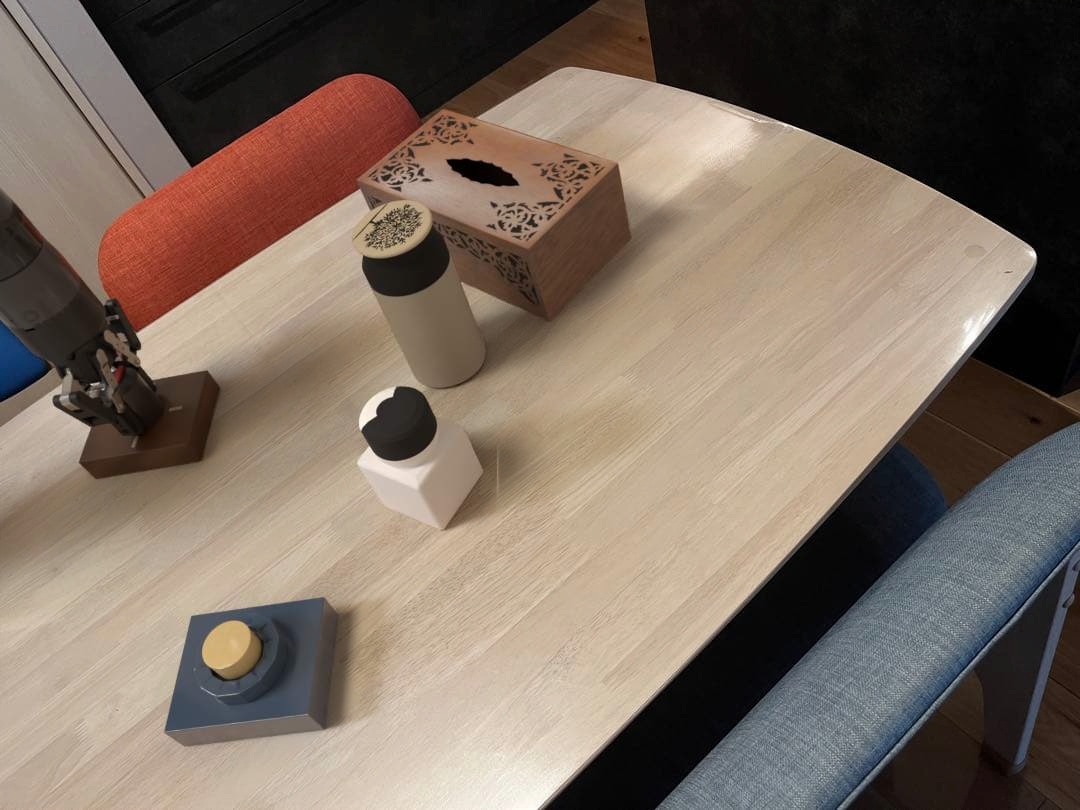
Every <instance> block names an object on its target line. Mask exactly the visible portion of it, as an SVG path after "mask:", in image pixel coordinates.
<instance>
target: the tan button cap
mask: <svg viewBox="0 0 1080 810" xmlns="http://www.w3.org/2000/svg"><path fill="white" fill-rule="evenodd" d="M261 652H262V644H261V640H260V639H259V637H258V636H257V635H256V634H255V633H254V632H253V631H252V630H251V629H250V628H249V627H248V626H247V625H246V624H244V623H243V622H240V621H228V622H225V623H222V624H220V625H219V626H217V627H216V628H215V629H214V630H212V631H211V633H210V634H209V635H208V636H207V638H206V640H205V642H204V644H203V648H202V657H203V660H204V662H205V663H206V664H207V665H208V666H209V667H210V668H211V669H212V670H213V671H215V672H216V673H217V674H218V675H219V676H221V677H223V678H225V679H236V678H240V677H242V676H244V675H246V674H247V673H248V672H250V671H251V670H252V669H253V668H254V667H255V665H256V664H257V662H258V661H259V659H260V656H261Z"/></svg>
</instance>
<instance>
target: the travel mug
mask: <svg viewBox="0 0 1080 810" xmlns="http://www.w3.org/2000/svg"><path fill="white" fill-rule="evenodd" d="M432 222H433V218H432V214H431V212H430V210H429V209H428V208H427V207H426V206H425V205H423V204H422V203H419V202H416V201H411V200H400V201H394V202H390V203H386V204H384V205H381V206H379V207H377V208H375V209H373V210H372V211H370V210H369V212H368V213H366V214H364V215H363V217H361V219H360V220H359V221H358V222H357V223H356V224H355V226H354V228H353V230H352V234H351V243H352V245H353V248H354V249H355V251H356V252H357V253H359V254H360V255H362V260H361V269H362V273H363V274H364V276H365V278H366V279H365V280H366V281H367V282H368V284H369V287H370V289H371V290H372V293H373V295H374V297H375V299H376V301H377V303H378V305H379V307H380V309H381V311H382V314H383V315H384V317H385V320H386V322H387V324H388V326H389V327H390V329H391V332H392V333H393V336H394V338H395V340H396V342H397V344H398V346H399V348H400V350H401V352H402V354H403V356H404V358H405V360H406V363H407V365H408V367H409V368H410V370H411V372H412V374H413V377H414V378H415V380H416V381H418V382H419V383H420V384H422V385H424V386H426V387H430V388H435V389H440V388H442V389H443V388H449V387H454V386H456V385H459V384H462V383H463V382H465V381H467V380H469V379H470V378H471V377H473V376H474V375H475V374H476V373H477V372H478V371H479V370H480V368H481V367H482V365H483V363H484V362H485V359H486V355H487V353H486V352H487V348H486V344H485V341H484V339H483V336H482V333H481V331H480V329H479V326H478V323H477V320H476V317H475V316H474V313H473V310H472V307H471V305H470V302H469V300H468V297H467V295H466V292H465V290H464V287H463V284H462V282H461V281H460V279H459V276H458V274H457V271H456V269H455V266H454V263H453V261H452V258H451V256H450V253H449V250H448V248H447V245H446V243H445V240H444V238H443V236H442V234H441V233H440V232H439V231H437V230H436V229H434V228H433V227H432Z"/></svg>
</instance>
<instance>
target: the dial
mask: <svg viewBox="0 0 1080 810" xmlns="http://www.w3.org/2000/svg"><path fill="white" fill-rule="evenodd" d="M112 373H113V375H114V377H115V378H116V380H117V382H118V384H119V387H118V388H117V391H118V393H119V395H120V397H121V399H122V401H123V402H124V404H125V405H127V406H128V407H129V408H130V409H131V410H132V411H133V412H134V414H135V415H136V416H137V417H138V418H139V419H140V420H141V421H142V422H143V424H144V425H145V429H146V428H148V427H150V426H152V425H153V424H154V423H155V422H157V420H158V419H159V418H160V417H161V415H162V413H163V410H164V405H163V402H162V401H161V400H160V399H159V397H158V396H157V395H156V394H155V393H154V391H153V390H152V389H151V388H150V387H149V385H148V384H147V383H146V382H145V381H144V379H143V378H142V377H141V376H140V375H139V374H138V372H137V371H136V370H135V369H133V368H129V367H124V366H119V367H118V369H117V370H115V371H114V370H113V371H112ZM98 384H104V382H103V381H102V382H99V383H98ZM100 397H101V399H102V400H103V402H104V403H109V400H108V398H107V397H106V396H100Z"/></svg>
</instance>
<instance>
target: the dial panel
mask: <svg viewBox="0 0 1080 810" xmlns="http://www.w3.org/2000/svg"><path fill="white" fill-rule="evenodd" d="M152 381H153V384H154V385H155V386H156V387H157V390H156V395H157V396H158V397H159V399H160V400H161V401H162V402H163V405H164V410H163V413H162V415H161V417H160V418H159V419H158V420H157V422H155V423H154V424H153V425H152V426H150V427H148V428H146V429H144V432H143V433H142V434H136V435H131V436H123V435H121V434H120V433H119V432H118V430H117V429H116V428H115V427H114V426H113V425H112V424H103V425H97V426H95V427H90V429H89V431H88V435H87V437H86V441H85V443H84V445H83V448H82V451H81V454H80V456H79V459H78V464H79V465H80V466H81V467H82V468H83V469H84V470H85V471H86V472H87V473H89V474H90V475H91V477H92V478H93V479H95V480H97V479H104V478H110V477H116V476H121V475H122V476H123V475H127V474H132V473H138V472H147V471H151V470H156V469H157V470H158V469H163V468H169V467H176V466H181V465H187V464H194V463H199V462H200V463H201V462H202V461H203V458H204V454H205V451H206V446H207V442H208V439H209V435H210V430H211V427H212V423H213V419H214V415H215V410H216V407H217V403H218V399H219V395H220V391H221V386H220V385H219V384H218V383H217V381H216V380H215V378H214V377H213V376H212V374H211V373H210V372H209V370H208V369H205V370H200V371H195V372H188V373H183V374H177V375H173V376H167V377H162V378H156V379H152Z"/></svg>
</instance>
